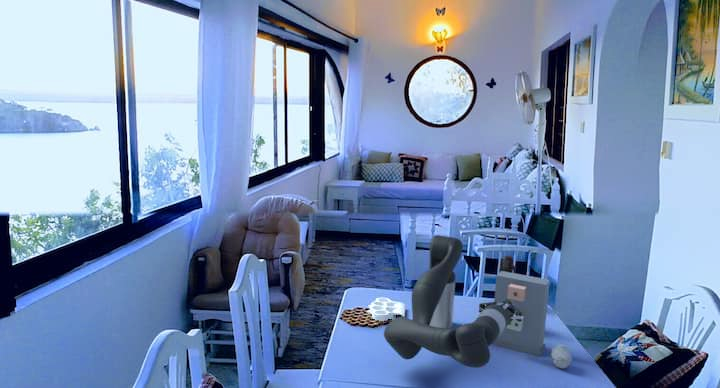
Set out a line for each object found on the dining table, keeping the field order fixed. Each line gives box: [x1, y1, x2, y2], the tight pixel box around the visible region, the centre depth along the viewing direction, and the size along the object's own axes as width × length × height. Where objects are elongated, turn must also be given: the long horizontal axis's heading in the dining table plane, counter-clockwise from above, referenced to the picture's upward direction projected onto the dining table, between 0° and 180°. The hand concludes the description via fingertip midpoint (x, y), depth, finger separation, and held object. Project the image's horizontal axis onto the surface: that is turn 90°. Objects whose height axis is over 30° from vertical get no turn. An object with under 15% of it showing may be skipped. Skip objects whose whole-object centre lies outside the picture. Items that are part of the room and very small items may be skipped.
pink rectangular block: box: [507, 284, 526, 302], centre depth 167 cm, size 3×5×4 cm
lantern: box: [498, 233, 518, 273], centre depth 211 cm, size 8×8×30 cm
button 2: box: [506, 316, 524, 331], centre depth 169 cm, size 3×5×4 cm
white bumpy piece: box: [366, 297, 406, 321], centre depth 201 cm, size 3×18×15 cm
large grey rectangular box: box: [491, 270, 551, 358], centre depth 175 cm, size 8×17×24 cm, turn 60°
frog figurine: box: [550, 343, 573, 369], centre depth 163 cm, size 6×7×7 cm
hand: (507, 303), depth 158 cm, fingers closed
